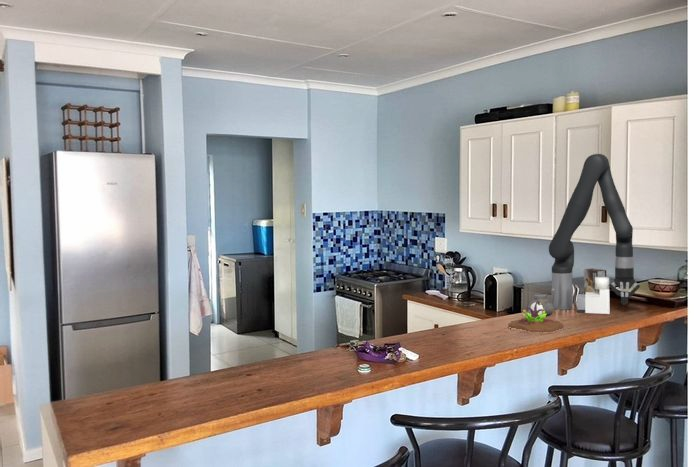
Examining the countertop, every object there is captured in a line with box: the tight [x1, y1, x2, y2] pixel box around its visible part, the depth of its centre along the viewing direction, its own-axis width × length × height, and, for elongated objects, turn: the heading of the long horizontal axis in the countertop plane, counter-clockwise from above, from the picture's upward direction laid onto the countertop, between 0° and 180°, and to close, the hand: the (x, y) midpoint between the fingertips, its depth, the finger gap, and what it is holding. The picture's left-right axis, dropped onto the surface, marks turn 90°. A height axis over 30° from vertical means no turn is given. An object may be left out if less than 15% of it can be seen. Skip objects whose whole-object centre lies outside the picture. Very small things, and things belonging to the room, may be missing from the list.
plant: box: [507, 301, 564, 333], centre depth 236 cm, size 20×20×11 cm
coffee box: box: [583, 268, 607, 294], centre depth 285 cm, size 9×6×16 cm
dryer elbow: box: [584, 276, 611, 315], centre depth 260 cm, size 10×8×16 cm
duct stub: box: [576, 293, 586, 314], centre depth 262 cm, size 9×6×8 cm, turn 65°
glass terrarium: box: [527, 294, 555, 316], centre depth 257 cm, size 12×8×10 cm
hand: (624, 304), depth 256 cm, fingers closed
